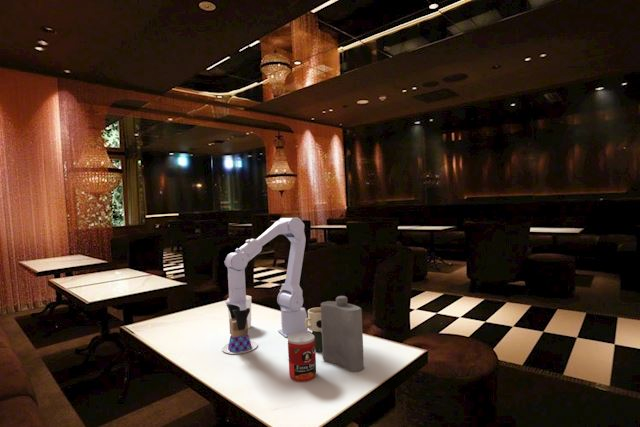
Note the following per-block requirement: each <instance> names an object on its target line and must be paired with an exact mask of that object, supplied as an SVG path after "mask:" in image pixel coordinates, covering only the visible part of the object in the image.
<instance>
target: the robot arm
mask: <svg viewBox="0 0 640 427" xmlns="http://www.w3.org/2000/svg"><path fill="white" fill-rule="evenodd" d="M279 235H283V236H285V237H286V238H287V239H288V241H289V242H290V249H289V255H288V262H287V268H286V269H287V270H286V275H285V280H284V283H283V284H282V285H281V287H280V291H279V293H278V295H277V297H276V298H277V299H276V302H277V305H279V306H280V307H279V308H280V313H281V314H280V315H281V316H280V317H281V329H278V330H277V331H278V333H280V334H281V335H282V336H283V337H284V338H288V337H289V336H290V335H292V334H295V333H301V332H306V333H309V328H306V327H305V319H307V318H308V312H307V310H306V308H305V307H303V304H304V297H303V289H302V287H301V286H300V281H301V275H302V268H303V262H304V253H305V248H306V241H307V240H306V239H307V238H306V234H305V223H304V222H303V221H302V219H301V218H299V217H298V216H297V217H296V216H295V217H280V218H279V219H278V220H276V221H274V223H273V224H272V225H271V226H270V227H269V228H267V229H266V230H265V231H264V232H263V233H262V234H261V235H259V236H258V237H257V238H249V239H246V240H245V243H244V244H243V245H241V246H240V247H239V248H238V247H236V249H234V250H235V251H234V252H230V253H228V254H227V255H226V257H225V260H224V261H223V262H224V266H225V267H226V268H227V280H228V281H227V282H228V283H227V284H228V285H227V286H228V298H229V301H227V300H226V301H225V304H226V307H227V310H228V309H229V311H230V314H231V318H236V321H237V326H238V330H243V329H245V326H246V321H247V317H248V314H249V312H250V308H246V302H247V299H246V295H247V293H246V290H247V289H246V271H245V270H246V268H247V266H248V263H249V262H250V261H251V260H253V258H255V257H256V256H257V255H258V254H260V253H261V252H262V249H263V246H265V245H266V244H267V243H269V242H270V241H272V240H273V239H274V238H276V237H277V236H279Z"/></svg>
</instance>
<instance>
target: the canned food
mask: <svg viewBox="0 0 640 427" xmlns="http://www.w3.org/2000/svg"><path fill="white" fill-rule="evenodd" d="M287 351H288V368H289V369H288V371H289V372H288V374H289V376H290V377H289V378H290V379H291V380H292V381H294V382H298V383H299V382H301V383H304V382H309V381H311V380H313V379H314V378H315V377H316V374H317V361H316V360H317V358H316V350H315V336H314V335H313V334H312V332H311V333H310V332H308V333H306V332H301V333H295V334H292V335H290V336H289V337H287Z"/></svg>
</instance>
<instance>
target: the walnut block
mask: <svg viewBox="0 0 640 427" xmlns="http://www.w3.org/2000/svg"><path fill="white" fill-rule="evenodd" d="M228 321H229V334H230V336H231V335H232V336H233V337H238V336H243V335H249V330H248V329H249V328H248V322H247V321H246V326H245V329H243V330H238V326H237V321H236V318H232V319H229V318H228Z"/></svg>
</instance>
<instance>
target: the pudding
mask: <svg viewBox="0 0 640 427" xmlns="http://www.w3.org/2000/svg"><path fill="white" fill-rule="evenodd" d="M228 341H229V342H228V343H227V344H225V345H224V346H223V347H222V348H221V350H222V352H224V353H226V354H231V355H233V354H235V355H237V354H240V353H241V354H246V353H249V352H251V351H253V350H255V349H256V348H257V347H258V342H256V341H254V340H251V339H250V336H249V334H248V335H243V336H238V337H233V336H232V335H231V334H230V337H229V340H228Z"/></svg>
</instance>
